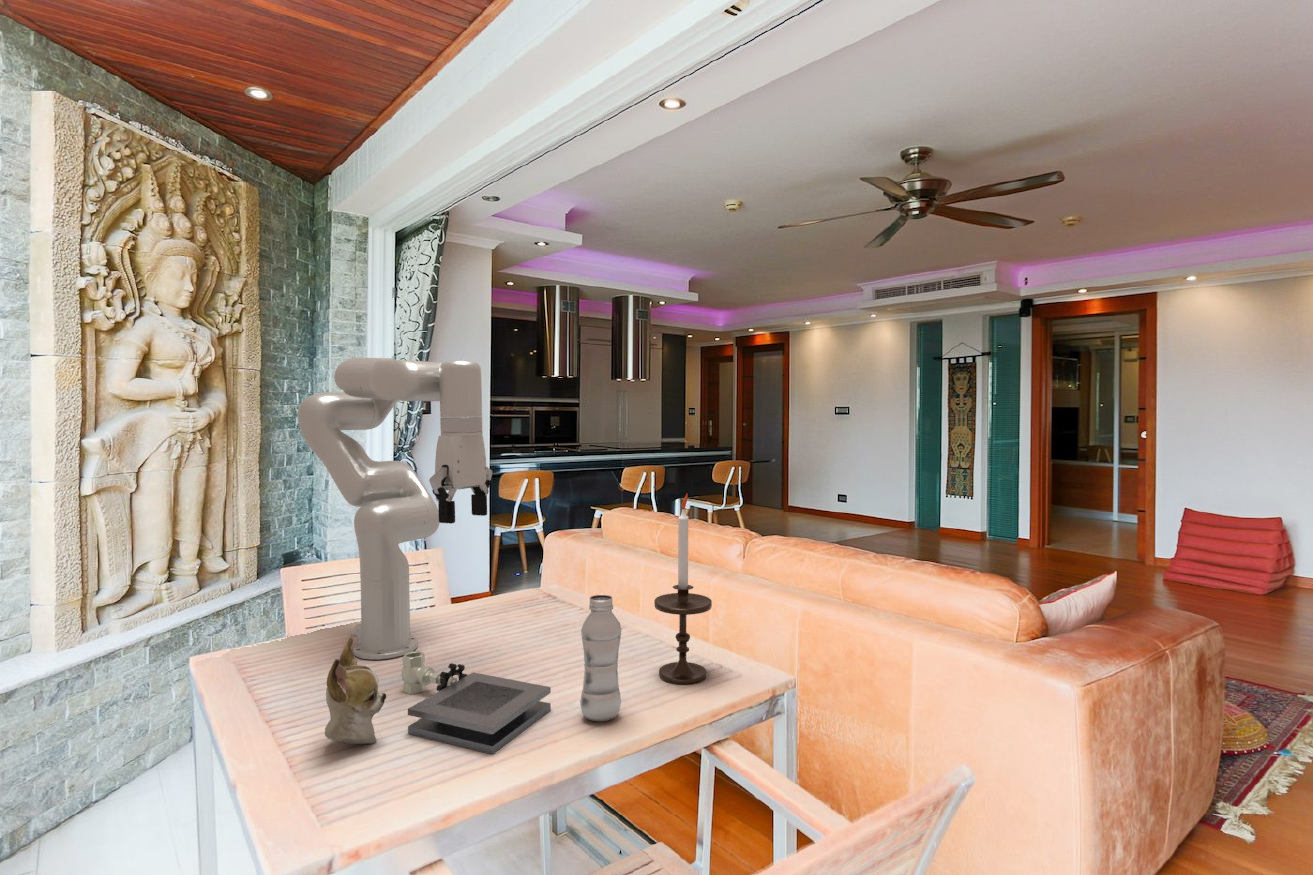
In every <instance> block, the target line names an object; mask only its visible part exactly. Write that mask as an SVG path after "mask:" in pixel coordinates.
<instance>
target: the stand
mask: <svg viewBox="0 0 1313 875" xmlns="http://www.w3.org/2000/svg"><path fill="white" fill-rule="evenodd" d="M551 688H552V687H551V686H547V685H543V684H542V685H541V684H536V683H531V682H525V681H520V680H515V679H510V678H504V677H501V676H500V677H499V676H494V675H489V674H484V673H480V672H479V673H477V672H474V671H473V672H471V673H469V674H467V676H466V677H464V678H462V679H460V680H459V679H457V682H455V683H453V684H451V685H449V686H448V687H446V688H444V689H442V690H440V691H437V692H435V693H433V694H432V695H430V696H428V697H426V698H425V699H422V700H421V701H419V702H417V703H416V704H414V705H412V706H410V707H408V708H407V716H411V717H415V718H419V719H418V720H415V721H414V722H413V723H411V724H409V725H408V726H407V734H408V735H412V736H416V737H420V738H424V739H428V740H430V741H431V740H433V741H436V742H440V743H443V744H444V743H445V744H449V745H452V746H456V747H461V748H465V749H469V750H473V751H477V752H481V753H485V754H489V755H494V754H495V753H497V752H498V751H499V750H500V749H502V748H503V747H504V746H506V745H508V744H509V743H510V742H511V741H512V740H514V739H515V738H516V737H518V736H519V735H520V734H521V733H523V732H524V731H526V729H528V728H529V727H531V726H532V725H533V724H535V723H536V722H538V721H539V720H540V719H541V718H542V717H544V716H545V715H546V714H548V713H549V712H551V709H552V707H551V703H550V702H544V701H542V700H543V699H544V698H546V697H547V696H549V695H550V694H551V691H552V690H551Z"/></svg>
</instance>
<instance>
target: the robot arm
mask: <svg viewBox="0 0 1313 875" xmlns="http://www.w3.org/2000/svg"><path fill="white" fill-rule="evenodd" d="M333 376H334V379H333V380H334V383H335V385H336V386H337V388H338V390H340V391H339V392H337V391H336V392H335V391H334V392H333V391H330V392H329V391H326V392H319V393H314V394H311V395H308V396H307V397H305V398H304V399H303V400H302V402H301V403H299V404H300V405H299V407H298V410H297V411H298V413H297V414H298V415H297V416H298V418H297V419H298V425H299V429H300V432H301V435H302V437H303V439H304V441H305V443H306V445H307V446H308V447H309V448H310V450H311V451H312V452H313V453H314V454H315V456H316V457H317V458H319V460H320V461H321V462H322V464H323V465H324V467H325V468H326V469H327V472H328V473H329V475H330V476H331V479H332V480H333V482H334V484H335V485H336V487H337V489H338V491H339V492H340V494H341V496H342V497H343V498H344V500H345V501H346V502H347V503H348V504H349V505H350V506H353V507H357V508H358V507H359V508H358V509H357V511H356V512H355V515H354V518H353V527H354V528H353V529H354V534H355V537H356V542H357V543H356V544H357V547H358V555H359V570H360V571H359V573H360V574H359V575H360V576H359V577H360V623H361V624H360V623H358V624H356V625H355V626H354V629H352V630H350V633H349V635H350V637H354V638H355V637H356V638H357V643H355V645H354V646H353V648H352V651H353V654H354V657H357V658H359V659H362V660H371V661H373V660H377V661H378V660H388V659H393V658H398V657H403V656H404V655H405V654H406V653H409V652H413V651H415V650H417V648H418V646H419V639H417V638H416V637H414V636H412V635H411V616H410V615H411V611H410V610H411V608H410V607H411V606H410V605H411V604H410V602H411V601H410V598H411V596H410V595H411V594H410V566H409V565H410V564H409V561H408V558H407V556H406V555H405V554H404V552H403V551H402V549H401V547H400V545H399V544H402V543H407V542H411V541H417V540H422V539H426V538H429V537H431V536H433V535H434V534H435V533H436V532H437V531H438V529H439V526H440V524H451V525H452V524H454V523H456V503H455V500H454V499H453V498H454V496H455V494H456V492H457V490H465V489H471V491H472V492H473V493H472V494H471V495H470V496H471V499H470V500H471V502H470V503H471V504H470V505H471V515H472V516H480V517H481V516H485V517H486V516H487V515H488V494H489V488H490V486H491V484H492V483H491V480H492V477H493V470H492V469H491V468H489V467H488V466H487V458H486V448H485V441H484V436H483V399H482V398H483V397H482V395H483V394H482V392H483V391H482V390H483V389H482V369H481V366H480V364H479V363H478V362H476V361H474V360H446V361H444V362H437V361H435V362H434V361H424V360H408V359H407V360H406V359H405V360H403V359H401V360H400V359H398V360H397V359H395V358H390V357H387V358H385V357H351V358H348V359H346V360H343V361H342V362H340V364H338V365H337V367H336V368H335V371H334V375H333ZM398 401H399V402H400V401H401V402H403V401H404V402H439V412H440V413H439V418H440V424H439V425H440V435H438V437H437V442H436V447H435V448H436V449H435V460H434V461H435V463H434V474H433V475H432V476H431V477H430V478H429V480H428V481H429V484H430V488H431V489H432V490H431V491H432V494H433V495H434V496H435V500H436V501H437V504H436V502H435V500H434V499H433V497H432V495H431V494H430V492H429V491H428V489H427V488H426V486H425V485H424V483H423V482H422V480H421V479H420V477H419V476H418V474H417V472H416V471H415V470H414V469H413V467H411V465H409V464H407V463H405V462H404V461H400V460H386V461H385V460H384V461H383V460H381V461H377V460H376V461H375V460H373V459H371V458H370V456H368V454H367V453H366V450H365V449H364V447H363V446H362V445H361V444H360V443H359V441H357V440H355V439H354V438H353V437H352V436H349V435H348V434H346V433H344V432H343V431H363V430H364V431H366V430H372V429H375V428H378V427H379V426H380V425H381V424H382V423H383V422H384V421H385V419H386V418H387V417H388V415H389V414H390V412H391V411H392V410H393V409H394V407H395V405H396V404H397V403H398ZM447 491H448V492H447Z"/></svg>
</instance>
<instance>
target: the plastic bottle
mask: <svg viewBox="0 0 1313 875" xmlns="http://www.w3.org/2000/svg"><path fill="white" fill-rule="evenodd" d="M588 609H589V610H590V612H589V614H588V615H587V616H586V618H585V620H584V622H583V624H582V627H581V630H580V631H581V641H582V649H583V661H584V671H583V672H584V673H583V684H582V690H581V695H580V701H579V702H580V709H581V710H580V711H581V713H582V715H583V716H584V718H585V719H587V720H590V721H592V722H593V721H594V722H606V721H610V720H612V719H614V718H616V717H617V715H619V712H620V710H621V704H622V698H621V697H622V696H621V691H620V688H619V687H620V685H619V673H618V662H619V648H620V644H621V637H622V636H621V635H622V626H621V623H620V621H619V620H618V618H617V617H616V615H615V614H614V612H612V610H613V609H614V604H613V596H611V595H610V594H609V595H608V594H597V595H596V594H595V595H591V596H590V597H589V606H588Z"/></svg>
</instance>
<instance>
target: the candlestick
mask: <svg viewBox="0 0 1313 875" xmlns="http://www.w3.org/2000/svg"><path fill="white" fill-rule="evenodd" d="M688 498H689V497H688V493H686V495H685V496H684V498H683V500H682V503H681V508H682V509H681V514H680V515H678V525H677V526H678V530H677V531H678V532H677V533H678V540H677V542H678V549H677V550H678V552H677V554H678V555H677V556H678V560H677V561H678V563H677V564H678V565H677V566H678V568H677V570H678V571H677V572H678V573H677V575H678V576H677V577H678V578H677V581H678V582H677V584H675V585H673V586H672V588H673V589H674V590H677V592H673V593H666V594H665V593H664V594H661V595H659V596H657V597H655V599H654V603H653V604H654V608H655V610H658V611H660V612H661V613H664V614H665V613H666V614H671V615H678V617H679V623H678V626H679V629H678V631H679V632H678V633H676V635H675V640H676V641H677V642H678V646H677V647H676V652H678V654H679V655H678V661H675V662H669V663H666V664H664V665H662V666H660V668H659V670H658V677H659V679H661V681H663V682H666V683H667V684H671V685H677V686H680V685H681V686H691V685H697V684H699V683H702V682H704V681H705V680H706V679H707V669H706V667H704V666H702V664H701V665H700V664H697V663H693V662H689V661H687V653H688V652H689V651H690V647H688V642H690V641H689V640H690V639H691V635H690V633H688V632H687V616H688V615H689V616H690V615H697V614H704V613H706V612H709V611H710V610H711V609H712V605H713V601H712V599H711V598H710V597H708V596H705V595H702V594H698V593H690V591H689V590H692V589H694V586H693V585H691V584H689V516H688V515H687V514H686V504H687V500H688Z"/></svg>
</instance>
